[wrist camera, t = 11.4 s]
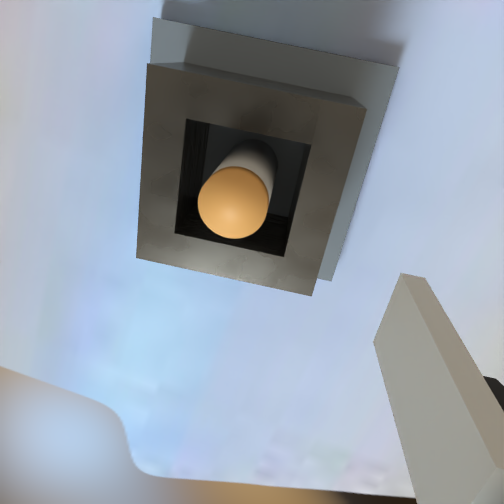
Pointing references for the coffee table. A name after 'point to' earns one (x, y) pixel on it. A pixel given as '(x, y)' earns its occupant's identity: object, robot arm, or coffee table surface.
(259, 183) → the keeper
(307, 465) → the coffee table surface
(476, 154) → the coffee table surface
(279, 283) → the hollow square block
